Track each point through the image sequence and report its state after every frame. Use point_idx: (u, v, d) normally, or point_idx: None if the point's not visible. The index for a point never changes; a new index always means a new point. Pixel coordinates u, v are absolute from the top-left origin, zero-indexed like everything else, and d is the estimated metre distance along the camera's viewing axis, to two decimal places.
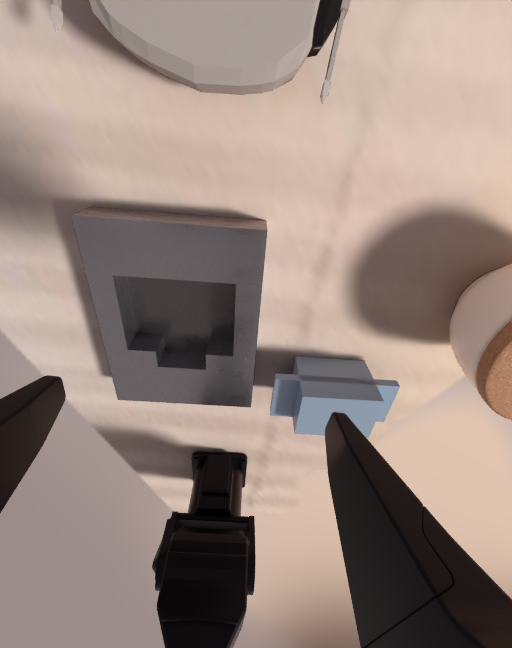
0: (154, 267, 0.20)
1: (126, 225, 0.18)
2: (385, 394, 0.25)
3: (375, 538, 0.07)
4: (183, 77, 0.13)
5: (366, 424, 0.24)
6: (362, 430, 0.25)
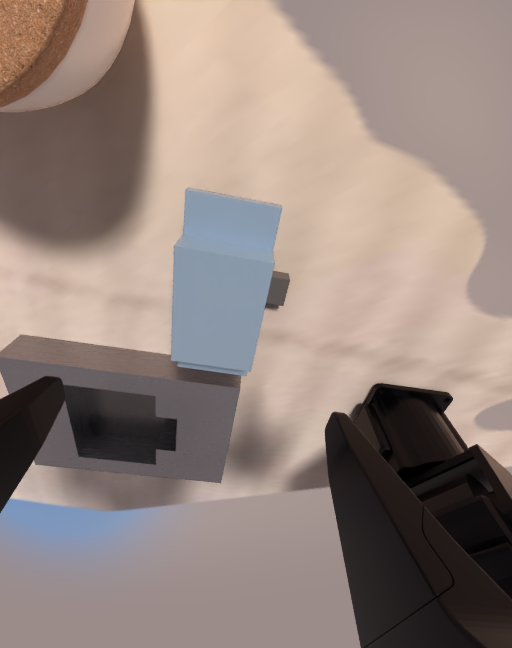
0: (62, 433, 0.23)
1: None
2: (205, 215, 0.14)
3: (375, 538, 0.07)
4: None
5: (236, 270, 0.13)
6: (252, 276, 0.13)
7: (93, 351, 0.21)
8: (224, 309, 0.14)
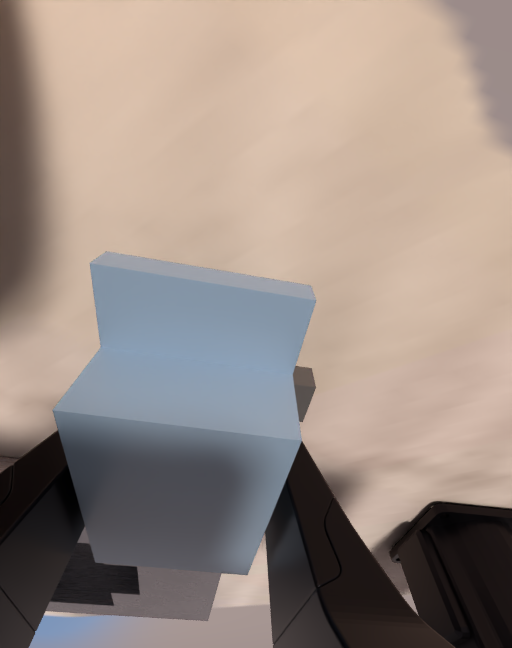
0: None
1: None
2: (143, 313, 0.06)
3: (284, 530, 0.07)
4: None
5: (210, 451, 0.06)
6: (248, 460, 0.06)
7: None
8: (189, 506, 0.07)
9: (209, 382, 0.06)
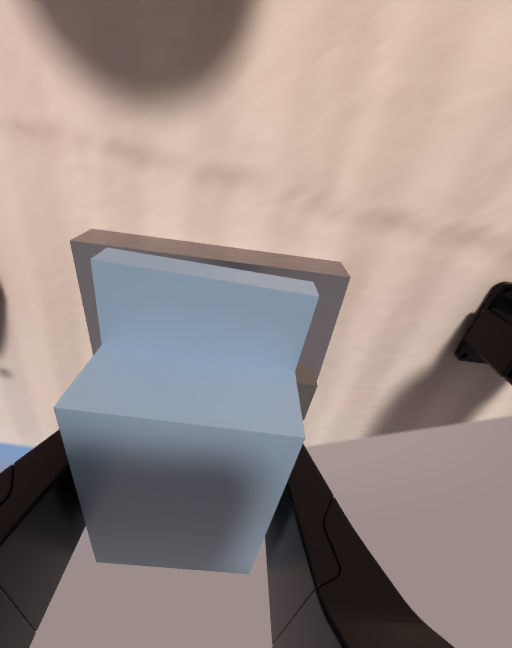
0: None
1: None
2: (145, 310, 0.06)
3: (284, 530, 0.07)
4: None
5: (213, 449, 0.06)
6: (250, 458, 0.06)
7: (174, 244, 0.18)
8: (191, 504, 0.07)
9: (211, 379, 0.06)
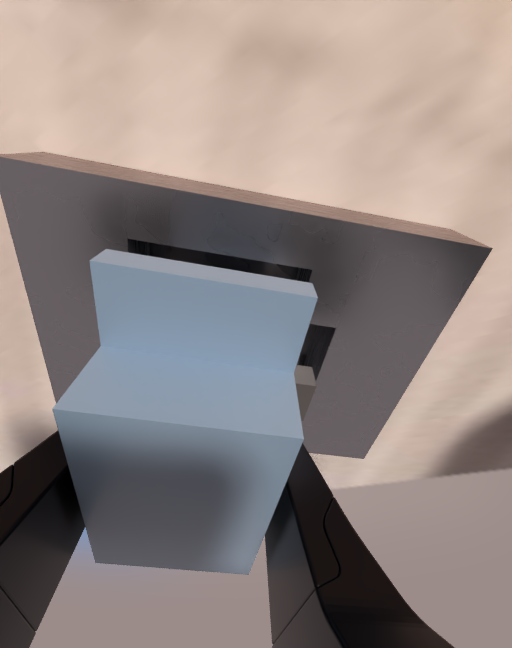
0: None
1: (57, 377, 0.13)
2: (144, 311, 0.06)
3: (284, 530, 0.07)
4: None
5: (212, 449, 0.06)
6: (249, 459, 0.06)
7: (187, 182, 0.10)
8: (190, 505, 0.07)
9: (210, 380, 0.06)
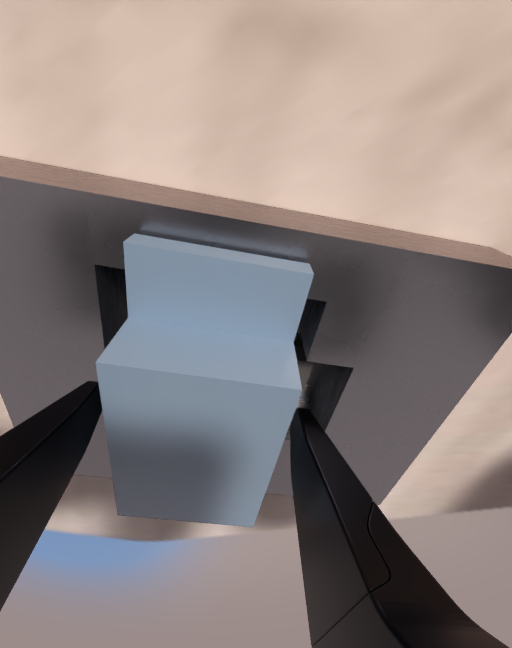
0: None
1: (21, 421, 0.11)
2: (166, 286, 0.07)
3: (324, 533, 0.07)
4: None
5: (225, 400, 0.07)
6: (256, 409, 0.07)
7: (171, 192, 0.08)
8: (205, 455, 0.08)
9: (222, 346, 0.07)
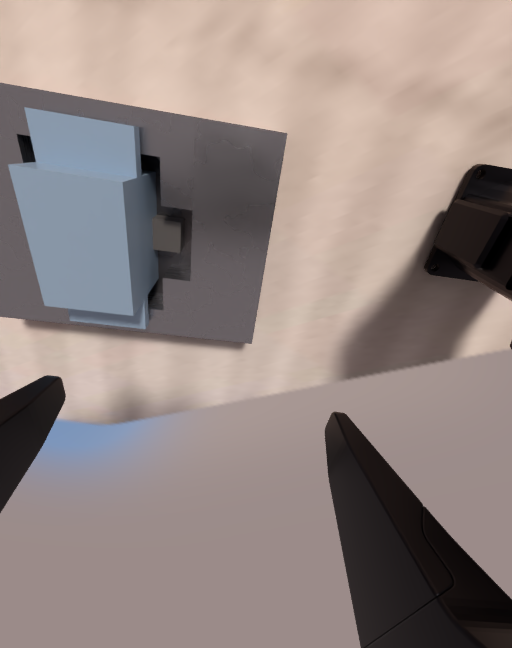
0: (28, 249, 0.16)
1: None
2: (53, 137, 0.13)
3: (375, 538, 0.07)
4: None
5: (83, 192, 0.12)
6: (102, 198, 0.12)
7: None
8: (84, 241, 0.13)
9: (88, 172, 0.13)
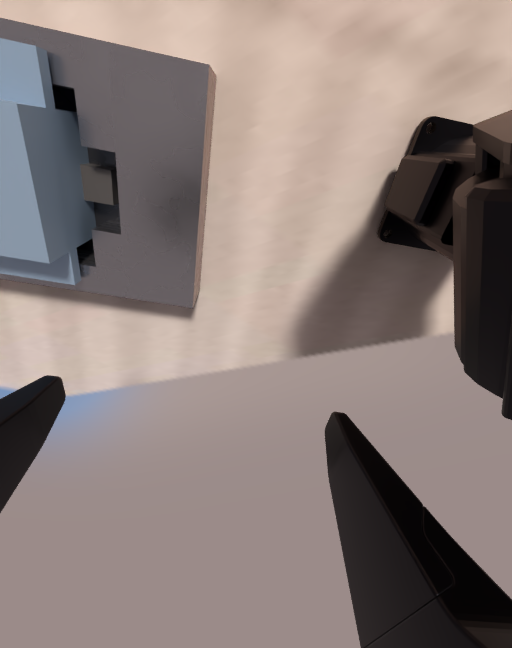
0: None
1: None
2: None
3: (375, 538, 0.07)
4: None
5: None
6: None
7: None
8: None
9: None
